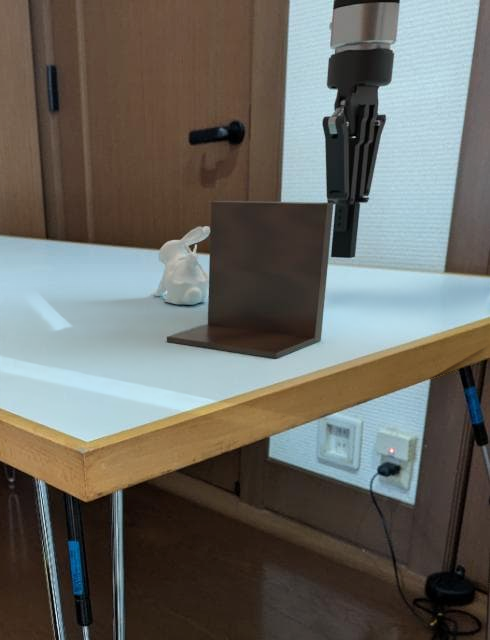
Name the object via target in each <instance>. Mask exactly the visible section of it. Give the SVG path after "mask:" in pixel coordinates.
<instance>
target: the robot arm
mask: <svg viewBox="0 0 490 640" xmlns="http://www.w3.org/2000/svg"><path fill="white" fill-rule="evenodd" d="M400 5H401V0H333V6H332V17H331V22H330V23H329V26H328V27H329V31H330V44H329V47H330V49H331V50H333V51H334V53H333V54H330V57H328V63H327V77H326V78H327V79H326V86H327V88H328V89H329V90H337V92H336V97H335V100H334V105H333V109H334V110H333V111H334V112H333V113H332V115H328V116H327V115H326V116H324V117H323V118H322V122H321V123H322V129H323V133H324V141H325V145H324V146H325V147H324V148H325V183H326V184H325V185H326V199H327V202H326V203H333V205H334V213H333V214H334V216H333V226H332V240H331V251H330V258H338V259H339V258H340V259H342V258H343V259H352V258H355V257H356V250H357V240H358V232H359V231H358V230H359V219H360V212H361V211H360V209H361V204H367V203H368V202H369V200H370V197H369V195H370V192H371V188H372V183H373V177H374V174H375V167H376V164H377V163H376V162H377V159H378V154H379V153H378V152H379V147H380V142H381V137H382V134H383V131H384V128H385V125H386V122H387V115H386V114H379V103H380V102H379V88H380V87H387V86H388V85H390V84H391V83H392V79H393V69H394V60H395V52H394V51H393V49H391V46H393V45H395V44H396V42H397V38H398V37H397V36H398V26H399V25H398V24H399V16H400Z"/></svg>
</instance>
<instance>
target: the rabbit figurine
mask: <svg viewBox="0 0 490 640" xmlns="http://www.w3.org/2000/svg"><path fill="white" fill-rule="evenodd" d="M210 227H211V226H208V225H207V226H206V225H205V226H197V227H195V228H193V229H191V230H189V231H188V232H187V233H186V234H185V235H184V236H183V237H182V238H181V239H172V240H168V241H166V242H165V243H163V245H162V246H161V247H160V249H159V250H158V253H157V257H158V261H159V262H160V263H162V264H164V269H163V274H162V277H161V279H160V281H159V284H158V285H157V289H156V291H155V292H151V293H150V295H151V296H155V297H162V296H163V299H164V302H166V303H169V304H174V305H188V306H193V305H197V304H198V303H199V304H200V303H203V302H205V300H206V297H207V294H208V292H209V273H208V272H207V271H206V270H204V268H203V266H202V264H201V263H199V262H198V259H199V255H198V254H197V248H198V244H197V243H200V242H202V241H203V240H206V239H207V238H208V237H209V236H210ZM191 245H194V248H193V250H191V248H190V247H189V246H191Z"/></svg>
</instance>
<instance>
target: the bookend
mask: <svg viewBox="0 0 490 640" xmlns="http://www.w3.org/2000/svg"><path fill="white" fill-rule="evenodd" d="M333 212H334V204H333V203H328V202H317V201H316V202H314V201H313V202H312V201H260V200H257V201H256V200H214V201H211V202H210V226H209V227H210V234H209V261H208V262H209V265H208V278H209V284H208V299H207V301H208V303H207V323H206V324H202V325H200V326H196V327H193V328H190V329H186V330H183V331H180V332H177V333H174V334H170V335H168V336H166V343H167V342H168V343H174V344H179V345H186V346H192V347H193V346H194V347H198V348H206V349H210V350H211V349H212V350H218V351H225V352H231V353H238V354H245V355H251V356H255V357H263V358H270V359H279V358H281V357H283V356H286V355H288V354H292V353H293V352H295V351H298V350H301V349H304V348H306V347H308V346H311V345H313V344H316V343H319V342H321V341H322V332H323V320H324V311H325V310H324V309H325V300H326V299H325V298H326V288H327V278H328V268H329V258H330V257H329V256H330V248H331V247H330V246H331V235H332V234H331V233H332V223H333V214H334V213H333Z"/></svg>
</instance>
